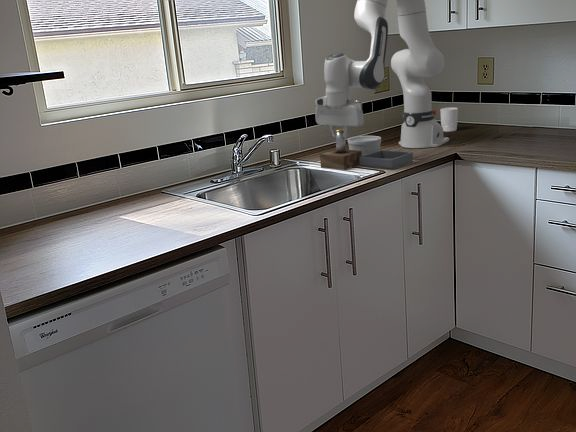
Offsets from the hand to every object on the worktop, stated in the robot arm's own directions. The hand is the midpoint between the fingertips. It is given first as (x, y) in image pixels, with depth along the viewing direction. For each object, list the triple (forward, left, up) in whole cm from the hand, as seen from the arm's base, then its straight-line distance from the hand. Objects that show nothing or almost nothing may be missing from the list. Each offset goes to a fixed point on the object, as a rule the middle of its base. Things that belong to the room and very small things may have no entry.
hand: (340, 137), depth 234 cm
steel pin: (0, 0, -7) cm, 7 cm away
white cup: (-80, 0, -11) cm, 81 cm away
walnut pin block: (0, 0, -11) cm, 11 cm away
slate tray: (-9, +14, -11) cm, 20 cm away
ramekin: (-19, -3, -11) cm, 22 cm away
